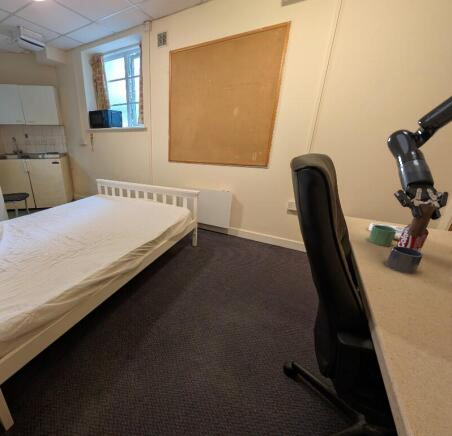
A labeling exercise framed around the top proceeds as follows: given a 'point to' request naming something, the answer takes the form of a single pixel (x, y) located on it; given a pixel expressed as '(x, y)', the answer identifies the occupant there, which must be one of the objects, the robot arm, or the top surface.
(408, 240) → the soda can
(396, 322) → the top surface
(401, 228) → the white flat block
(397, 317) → the top surface
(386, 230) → the green cup
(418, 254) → the charcoal cup
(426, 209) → the pestle
